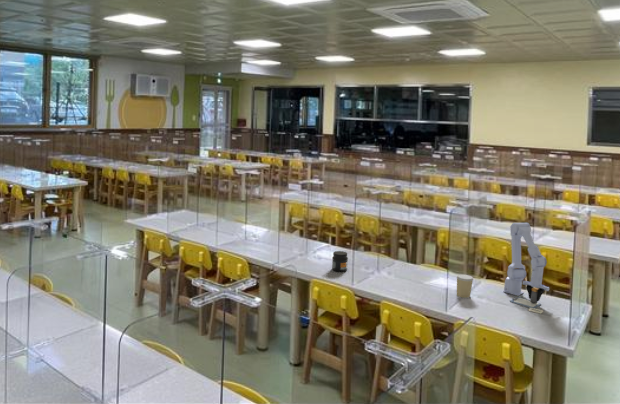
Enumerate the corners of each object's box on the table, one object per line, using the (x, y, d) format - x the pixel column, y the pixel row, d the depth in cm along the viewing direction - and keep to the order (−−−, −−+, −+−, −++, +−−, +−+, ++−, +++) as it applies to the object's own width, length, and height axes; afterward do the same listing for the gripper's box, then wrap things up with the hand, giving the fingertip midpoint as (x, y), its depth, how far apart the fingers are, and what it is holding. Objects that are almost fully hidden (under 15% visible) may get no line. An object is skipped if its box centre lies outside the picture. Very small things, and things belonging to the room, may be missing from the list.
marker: (528, 301, 304) (530, 288, 303) (531, 300, 307) (533, 287, 306) (535, 303, 302) (537, 290, 300) (538, 302, 305) (540, 289, 303)
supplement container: (350, 271, 353) (351, 254, 351) (337, 273, 348) (338, 255, 346) (341, 266, 362) (342, 250, 360) (328, 268, 357) (329, 251, 355)
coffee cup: (468, 293, 319) (470, 274, 317) (473, 298, 310) (475, 279, 308) (453, 292, 319) (455, 274, 317) (457, 298, 310) (459, 279, 308)
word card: (528, 310, 295) (528, 309, 295) (530, 307, 299) (530, 307, 299) (541, 313, 291) (541, 313, 291) (543, 311, 295) (543, 310, 295)
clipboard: (509, 301, 308) (510, 299, 307) (517, 297, 315) (517, 295, 314) (533, 308, 298) (533, 306, 298) (540, 304, 305) (541, 302, 305)
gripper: (521, 275, 304) (518, 297, 307) (546, 281, 294) (544, 304, 296) (526, 272, 309) (524, 294, 311) (551, 279, 299) (548, 301, 301)
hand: (534, 299), depth 304 cm, fingers closed on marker, 4 cm apart
